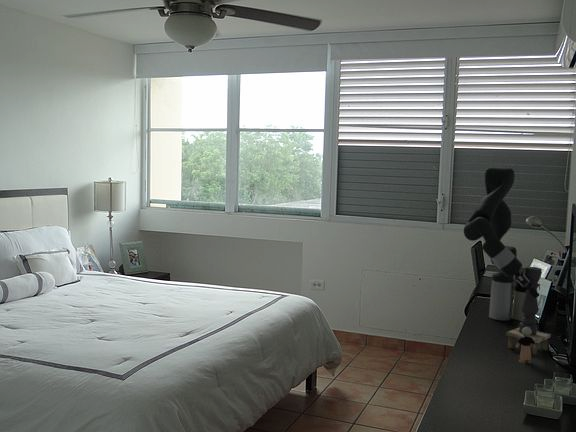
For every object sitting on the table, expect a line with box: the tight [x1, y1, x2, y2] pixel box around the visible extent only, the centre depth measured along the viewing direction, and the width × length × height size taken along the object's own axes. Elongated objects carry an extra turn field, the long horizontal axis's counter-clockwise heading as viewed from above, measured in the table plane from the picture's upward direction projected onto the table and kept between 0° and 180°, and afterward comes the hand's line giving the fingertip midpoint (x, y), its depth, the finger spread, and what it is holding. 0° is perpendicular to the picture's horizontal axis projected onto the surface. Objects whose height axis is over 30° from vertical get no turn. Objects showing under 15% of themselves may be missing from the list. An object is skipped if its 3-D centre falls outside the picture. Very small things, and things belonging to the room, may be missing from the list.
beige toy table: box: [505, 327, 552, 356], centre depth 231 cm, size 12×12×6 cm
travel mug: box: [511, 280, 526, 322], centre depth 275 cm, size 8×8×18 cm
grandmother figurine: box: [515, 327, 536, 364], centre depth 214 cm, size 8×4×13 cm, turn 111°
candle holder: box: [518, 266, 543, 335], centre depth 230 cm, size 6×6×25 cm
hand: (535, 294), depth 229 cm, fingers open, 8 cm apart
